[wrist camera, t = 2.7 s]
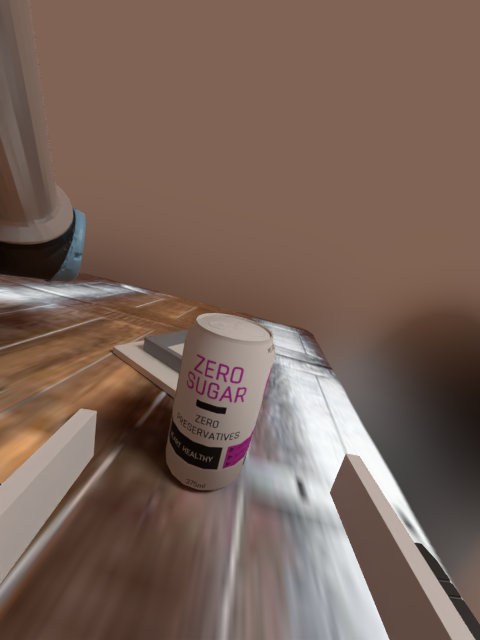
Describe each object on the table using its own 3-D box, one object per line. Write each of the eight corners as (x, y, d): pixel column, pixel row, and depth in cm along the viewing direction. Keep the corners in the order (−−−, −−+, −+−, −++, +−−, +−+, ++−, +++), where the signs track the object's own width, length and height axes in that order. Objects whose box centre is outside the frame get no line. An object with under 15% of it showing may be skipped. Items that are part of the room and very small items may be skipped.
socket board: (112, 352, 40) (114, 333, 39) (193, 335, 57) (195, 321, 56) (192, 411, 30) (196, 387, 30) (261, 369, 47) (266, 353, 46)
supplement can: (229, 426, 29) (257, 317, 26) (253, 489, 22) (297, 348, 18) (164, 430, 26) (184, 307, 23) (166, 504, 19) (197, 340, 15)
